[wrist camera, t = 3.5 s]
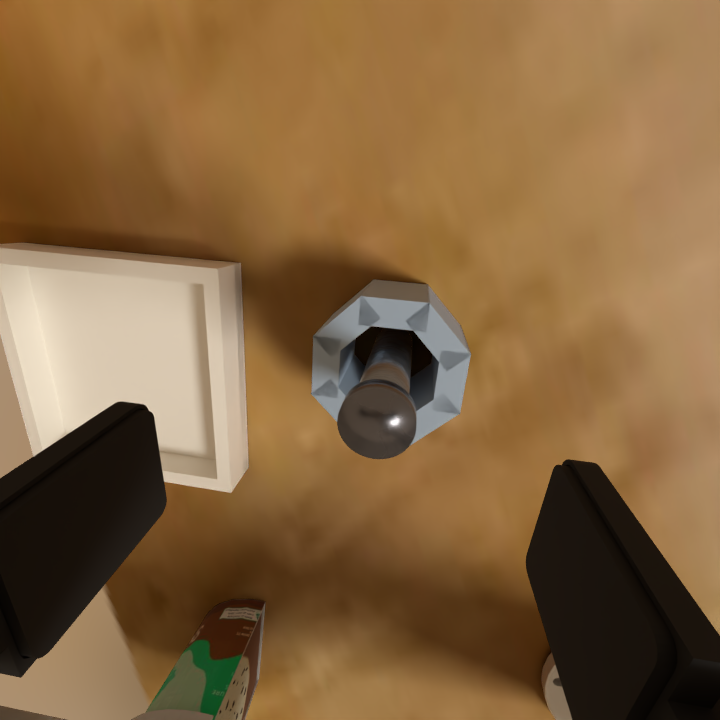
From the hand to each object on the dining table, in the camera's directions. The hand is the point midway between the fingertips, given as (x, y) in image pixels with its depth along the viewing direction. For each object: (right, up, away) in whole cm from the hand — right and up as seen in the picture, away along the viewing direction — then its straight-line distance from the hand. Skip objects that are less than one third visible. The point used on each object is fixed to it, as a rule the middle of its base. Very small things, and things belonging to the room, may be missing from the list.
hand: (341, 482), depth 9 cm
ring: (+2, +4, +12) cm, 13 cm away
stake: (+2, +4, +12) cm, 13 cm away
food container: (-10, -19, +22) cm, 31 cm away
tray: (-13, +3, +15) cm, 19 cm away
